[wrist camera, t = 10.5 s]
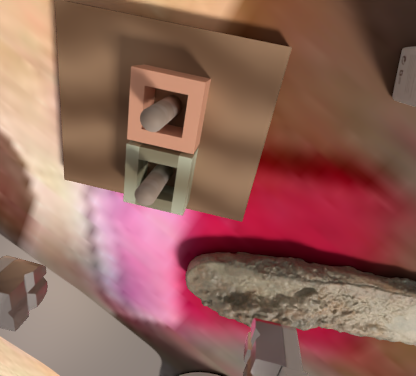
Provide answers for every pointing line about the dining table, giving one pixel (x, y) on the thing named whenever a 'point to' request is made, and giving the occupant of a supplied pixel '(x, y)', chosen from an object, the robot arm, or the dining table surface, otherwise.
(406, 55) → the skincare box
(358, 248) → the dining table surface
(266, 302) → the long grey stone
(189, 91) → the chunky salmon square frame
